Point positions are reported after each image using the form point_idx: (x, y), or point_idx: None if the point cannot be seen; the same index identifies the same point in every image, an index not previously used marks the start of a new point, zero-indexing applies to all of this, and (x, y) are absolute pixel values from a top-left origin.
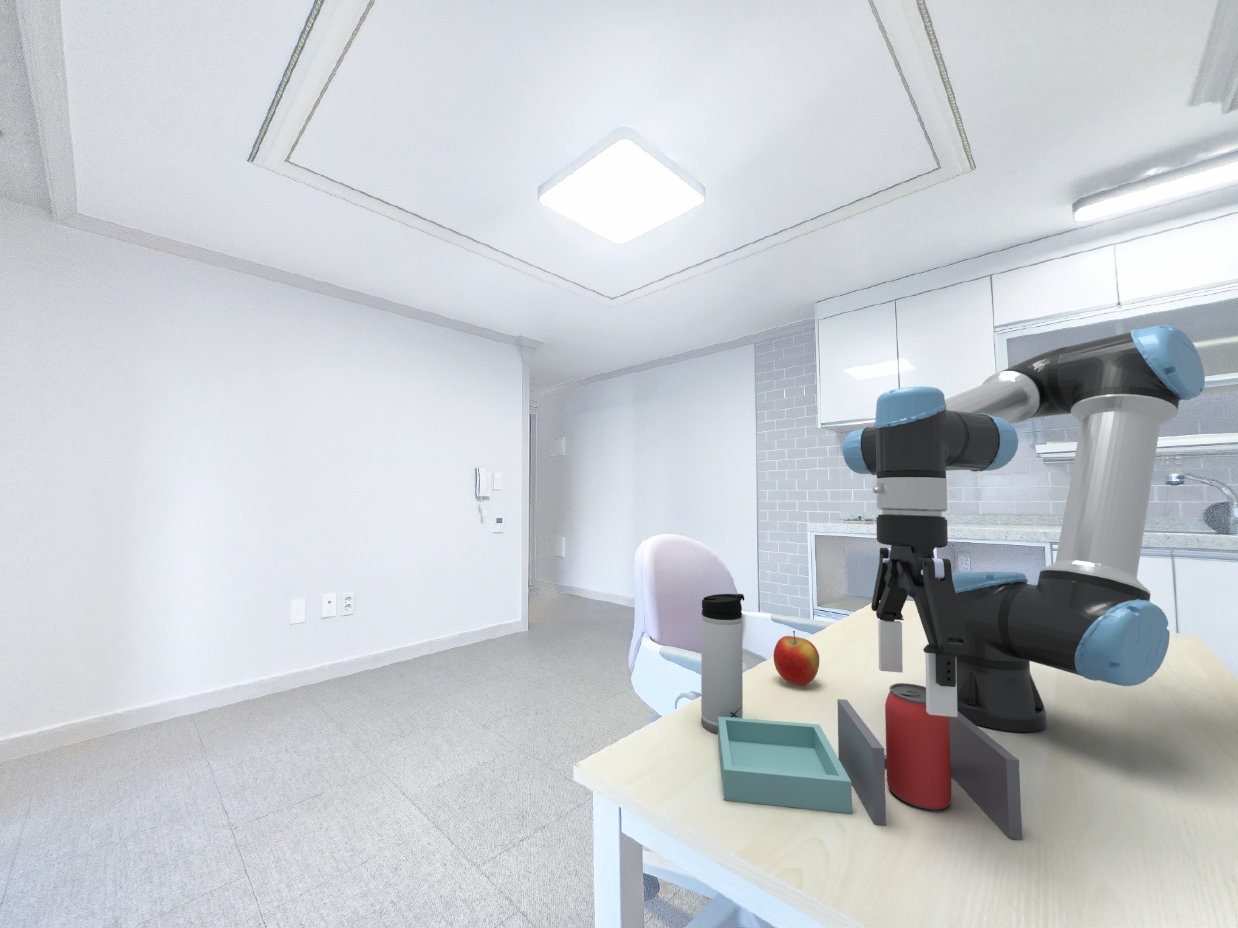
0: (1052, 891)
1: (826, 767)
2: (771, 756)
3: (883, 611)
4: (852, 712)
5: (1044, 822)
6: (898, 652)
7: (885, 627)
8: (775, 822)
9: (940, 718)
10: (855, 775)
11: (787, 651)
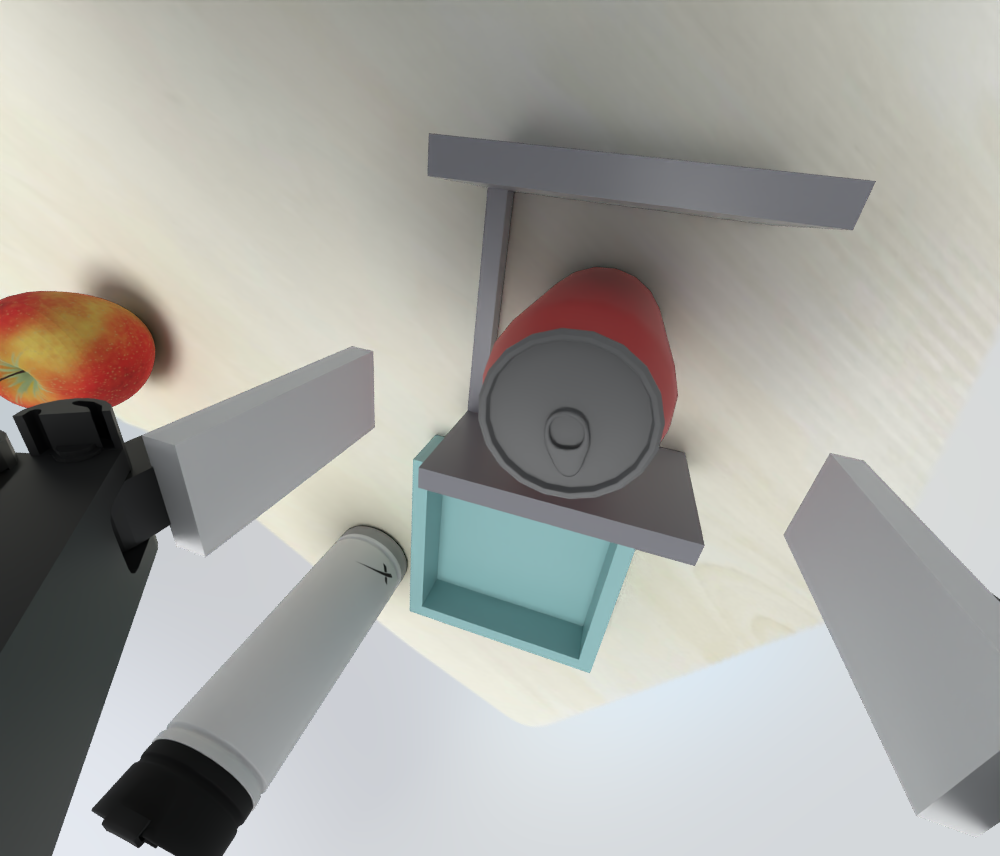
0: (945, 261)
1: None
2: (482, 536)
3: (135, 594)
4: (499, 499)
5: (735, 59)
6: (320, 393)
7: (229, 510)
8: (652, 597)
9: (672, 379)
10: None
11: None
